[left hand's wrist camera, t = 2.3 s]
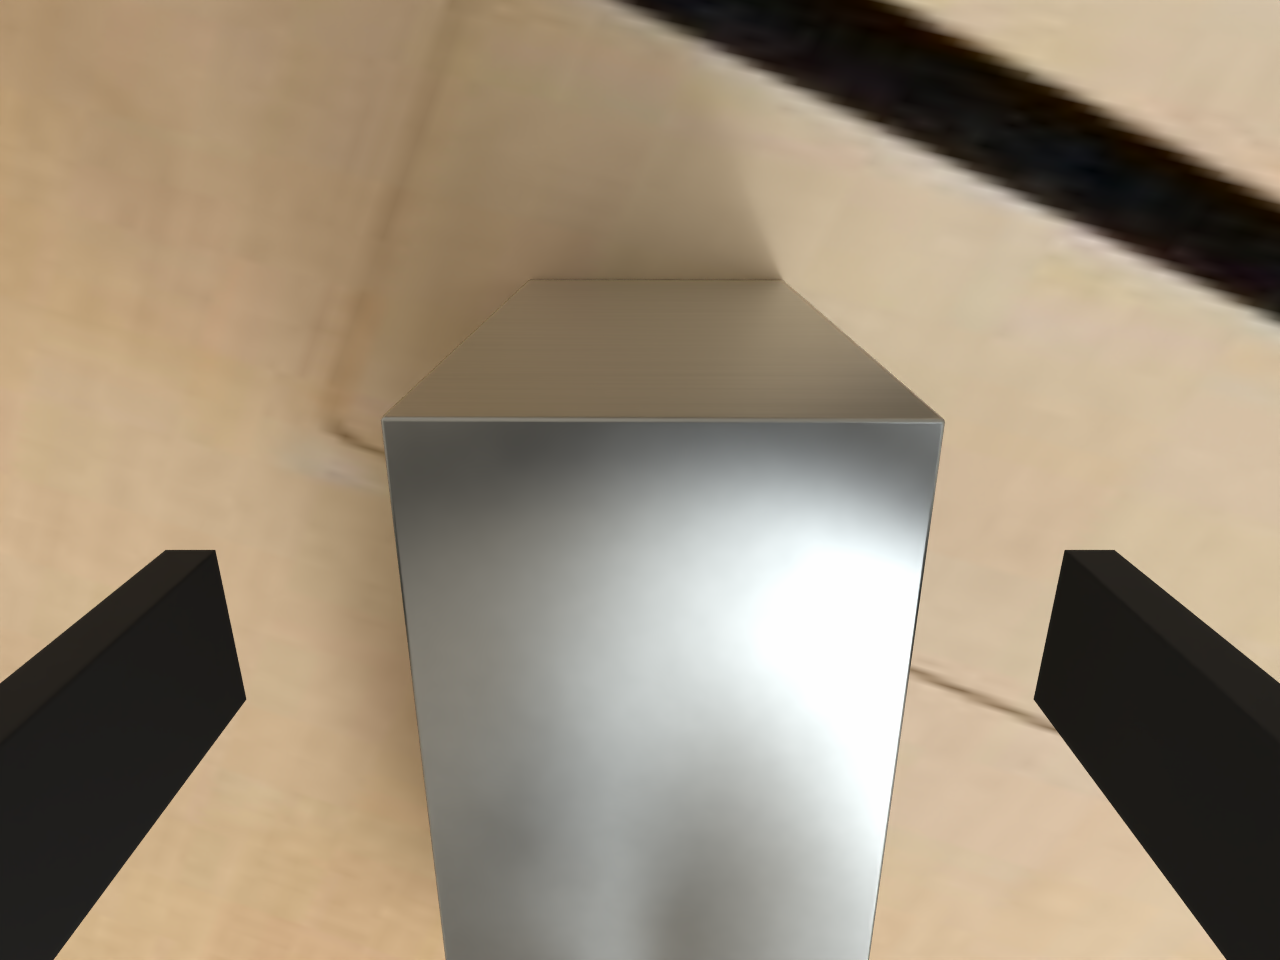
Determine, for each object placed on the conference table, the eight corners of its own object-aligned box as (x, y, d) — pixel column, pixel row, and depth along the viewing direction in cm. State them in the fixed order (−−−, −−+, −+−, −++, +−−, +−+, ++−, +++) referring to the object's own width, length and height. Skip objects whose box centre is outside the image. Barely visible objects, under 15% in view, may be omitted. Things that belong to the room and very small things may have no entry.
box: (528, 279, 21) (379, 417, 10) (784, 279, 21) (947, 419, 9) (559, 914, 29) (498, 1409, 18) (744, 916, 29) (805, 1414, 17)
